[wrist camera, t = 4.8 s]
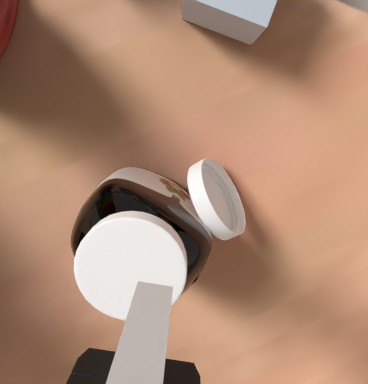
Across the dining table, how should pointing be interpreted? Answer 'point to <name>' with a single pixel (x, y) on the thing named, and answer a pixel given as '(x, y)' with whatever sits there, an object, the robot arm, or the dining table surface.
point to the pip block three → (230, 16)
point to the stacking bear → (6, 21)
